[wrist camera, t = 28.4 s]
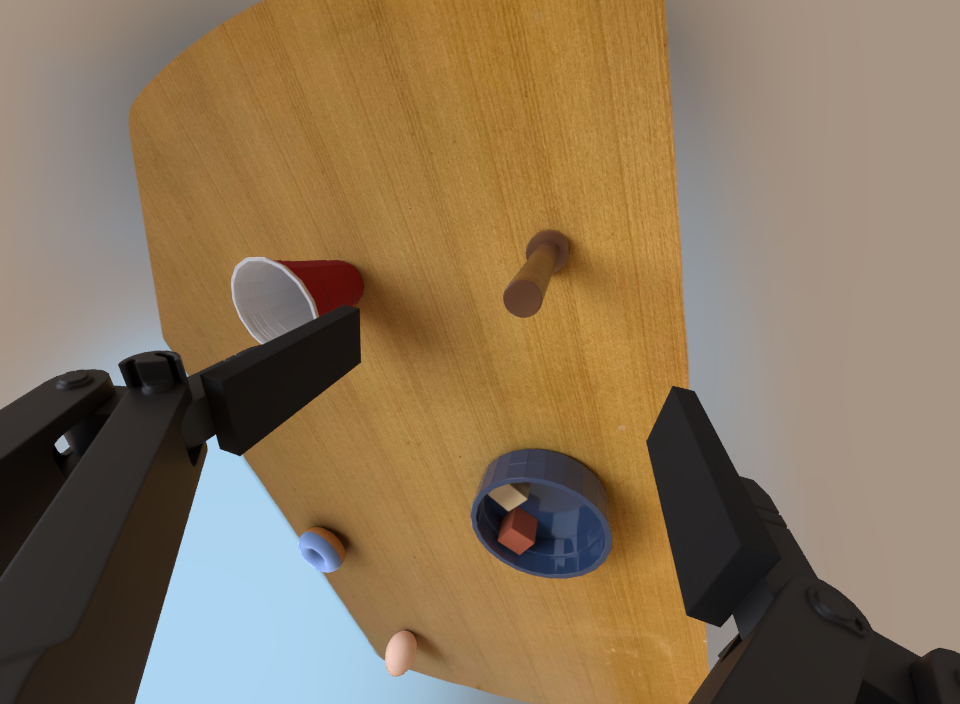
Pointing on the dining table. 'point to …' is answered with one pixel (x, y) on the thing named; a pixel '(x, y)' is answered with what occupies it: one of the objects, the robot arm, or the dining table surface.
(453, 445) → the dining table surface
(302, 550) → the doughnut
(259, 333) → the plastic cup
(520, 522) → the terracotta block
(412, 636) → the egg
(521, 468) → the bowl
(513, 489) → the birch block
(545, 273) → the muddler
